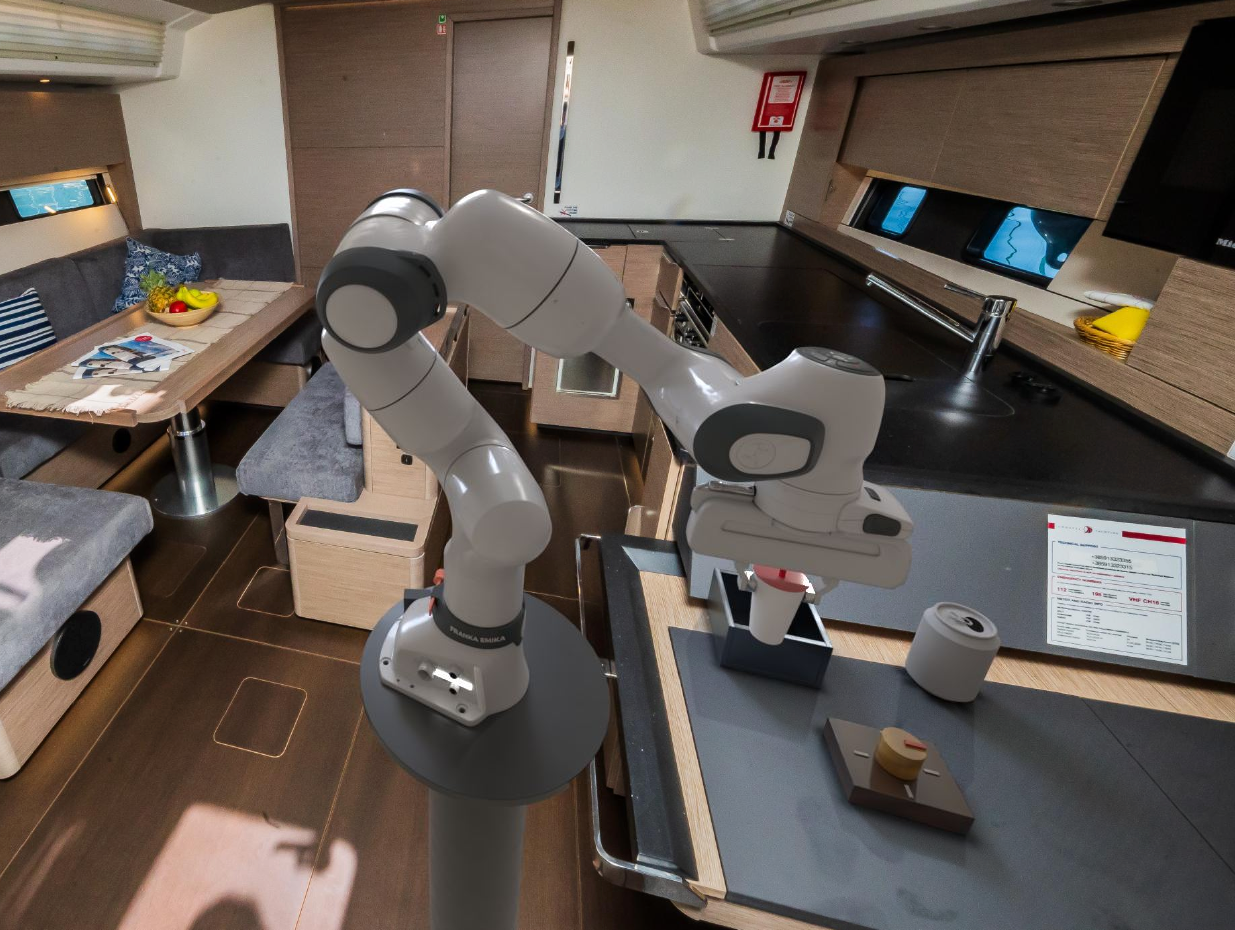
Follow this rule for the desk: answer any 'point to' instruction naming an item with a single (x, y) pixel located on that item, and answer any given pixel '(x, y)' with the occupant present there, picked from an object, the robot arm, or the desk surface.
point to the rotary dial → (895, 780)
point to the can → (952, 651)
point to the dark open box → (739, 649)
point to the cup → (775, 602)
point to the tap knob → (900, 753)
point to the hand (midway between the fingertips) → (776, 593)
